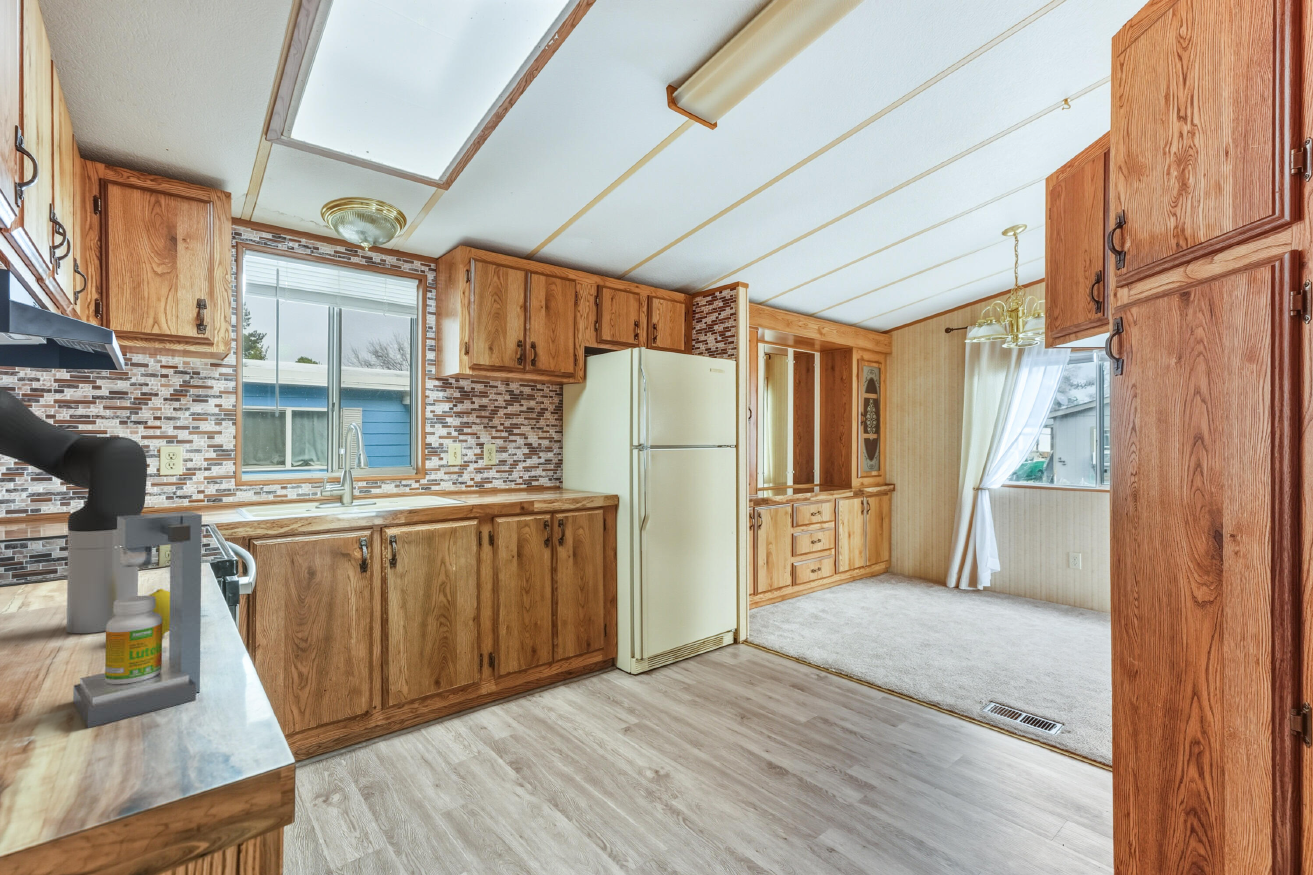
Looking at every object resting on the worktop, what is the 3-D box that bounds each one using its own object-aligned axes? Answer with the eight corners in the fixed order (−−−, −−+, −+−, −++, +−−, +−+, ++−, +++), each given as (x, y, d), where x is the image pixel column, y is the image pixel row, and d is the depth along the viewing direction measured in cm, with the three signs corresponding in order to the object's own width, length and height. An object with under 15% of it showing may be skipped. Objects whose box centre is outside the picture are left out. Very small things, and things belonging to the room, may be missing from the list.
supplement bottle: (128, 687, 73) (129, 606, 73) (93, 683, 74) (94, 603, 74) (172, 670, 78) (173, 595, 79) (138, 667, 80) (139, 592, 80)
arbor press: (73, 701, 76) (75, 516, 76) (182, 675, 85) (184, 509, 85) (93, 738, 67) (96, 527, 67) (214, 705, 75) (216, 518, 75)
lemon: (154, 632, 104) (154, 585, 104) (188, 631, 104) (189, 584, 104) (128, 643, 98) (129, 593, 98) (165, 642, 99) (166, 592, 99)
